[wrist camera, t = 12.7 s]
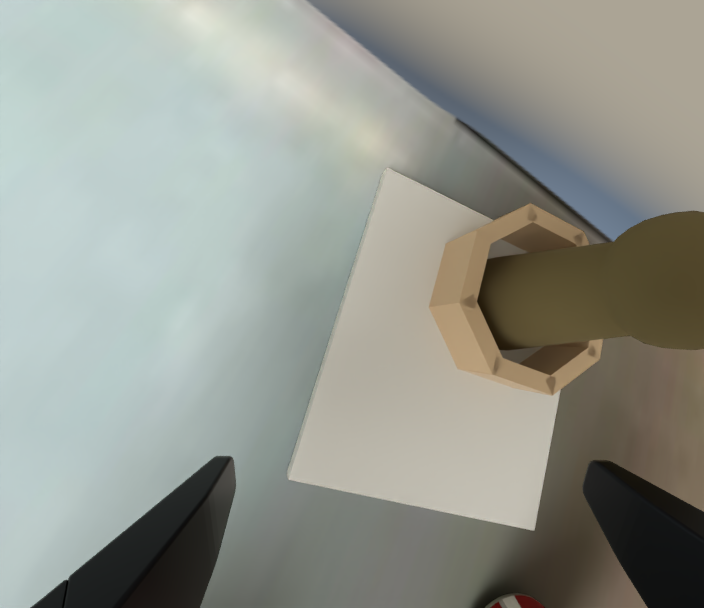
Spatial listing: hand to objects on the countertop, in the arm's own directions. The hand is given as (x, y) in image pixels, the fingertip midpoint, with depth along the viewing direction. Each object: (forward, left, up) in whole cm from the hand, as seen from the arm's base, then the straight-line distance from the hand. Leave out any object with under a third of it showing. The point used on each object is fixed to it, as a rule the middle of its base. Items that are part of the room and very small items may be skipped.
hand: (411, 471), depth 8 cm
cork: (+9, -9, -10) cm, 16 cm away
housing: (+5, -7, -11) cm, 14 cm away
